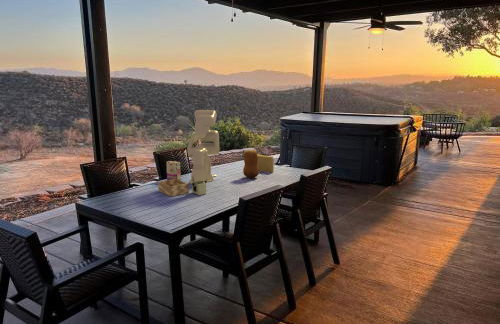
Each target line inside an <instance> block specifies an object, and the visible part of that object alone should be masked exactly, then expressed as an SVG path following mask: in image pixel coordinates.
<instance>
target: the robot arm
mask: <svg viewBox="0 0 500 324" xmlns="http://www.w3.org/2000/svg"><path fill="white" fill-rule="evenodd" d="M193 113H194V115H193V116H194V118H195V126H194V127H195V128H194V134H193V135H192V137H191V138H190V139H189V142H188V145H187V155H188V157H189V158H190V159H191V158H192V165H193V166H192V169H191V175H190V176H191V178H190V180H189V181H188V182H189V183H188V184H191V187H192V186H193V190H194V191H195V192H196V183H197V182H205V183H206V184H207V183H210V182H213V181H214V178H217V174H212V160H211V158H210V156H211V155H214V156H215V155H218V154H219V153H220V134H219V131H218V130H215V129H210V127H214V126H215V124H216V120H217V118H218V117H217V112H216V110H214V109H197V110H195V111H194V112H193ZM199 140H200V142H201V143H199V144H198V146H196V147H195V146H194V147H193V145H194V143H195V142H197V141H199ZM192 182H193V183H192Z"/></svg>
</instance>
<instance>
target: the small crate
mask: <svg viewBox="0 0 500 324" xmlns="http://www.w3.org/2000/svg"><path fill="white" fill-rule="evenodd" d="M192 183H193V182H192ZM191 192H192V193H193V194H195V195H198V196H202V195H206V194H207V182H206V183H205V182H197V183H196V192H195V191H194V190H193V186H192V185H191Z"/></svg>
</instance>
